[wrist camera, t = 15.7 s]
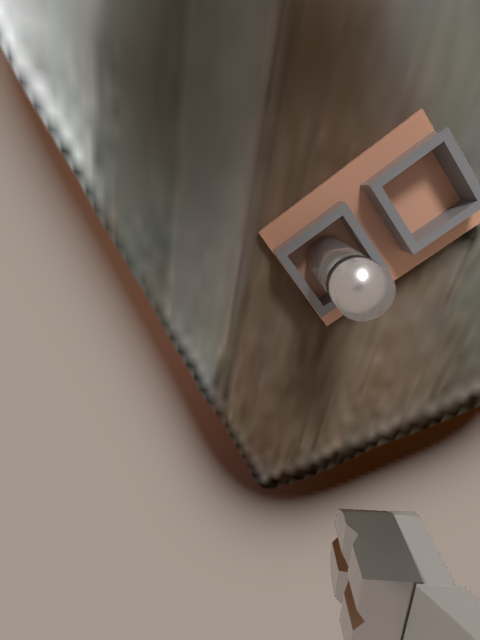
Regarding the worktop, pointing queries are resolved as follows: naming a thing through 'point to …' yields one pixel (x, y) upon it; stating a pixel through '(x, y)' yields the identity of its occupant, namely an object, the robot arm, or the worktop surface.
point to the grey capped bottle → (351, 279)
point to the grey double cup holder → (382, 207)
